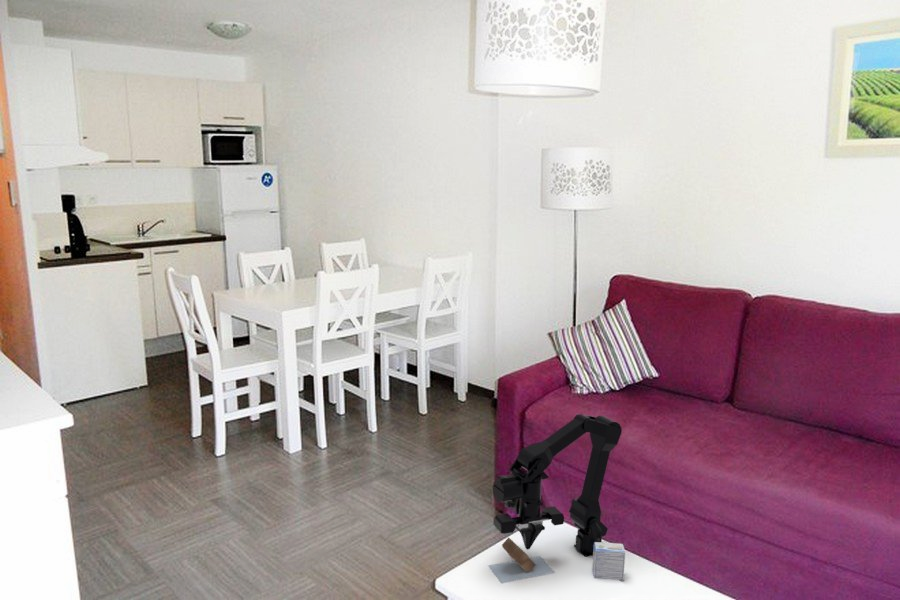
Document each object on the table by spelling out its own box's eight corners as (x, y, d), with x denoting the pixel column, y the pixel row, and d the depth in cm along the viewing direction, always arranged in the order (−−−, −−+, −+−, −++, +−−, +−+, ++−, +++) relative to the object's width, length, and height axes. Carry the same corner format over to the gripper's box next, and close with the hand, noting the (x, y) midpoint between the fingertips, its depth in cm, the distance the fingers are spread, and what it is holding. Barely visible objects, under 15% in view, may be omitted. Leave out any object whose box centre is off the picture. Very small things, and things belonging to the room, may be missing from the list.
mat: (540, 557, 196) (540, 555, 196) (555, 573, 188) (555, 572, 188) (487, 566, 191) (487, 565, 191) (501, 584, 183) (501, 583, 182)
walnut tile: (525, 553, 194) (508, 537, 191) (535, 564, 188) (518, 548, 185) (518, 561, 193) (501, 545, 190) (528, 573, 188) (510, 556, 185)
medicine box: (621, 572, 189) (623, 543, 188) (623, 582, 185) (625, 551, 183) (591, 570, 190) (593, 541, 189) (593, 579, 186) (595, 549, 184)
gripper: (546, 478, 198) (544, 529, 200) (486, 486, 191) (484, 539, 194) (566, 495, 187) (563, 548, 190) (503, 504, 181) (500, 559, 184)
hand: (527, 548), depth 190 cm, fingers closed
